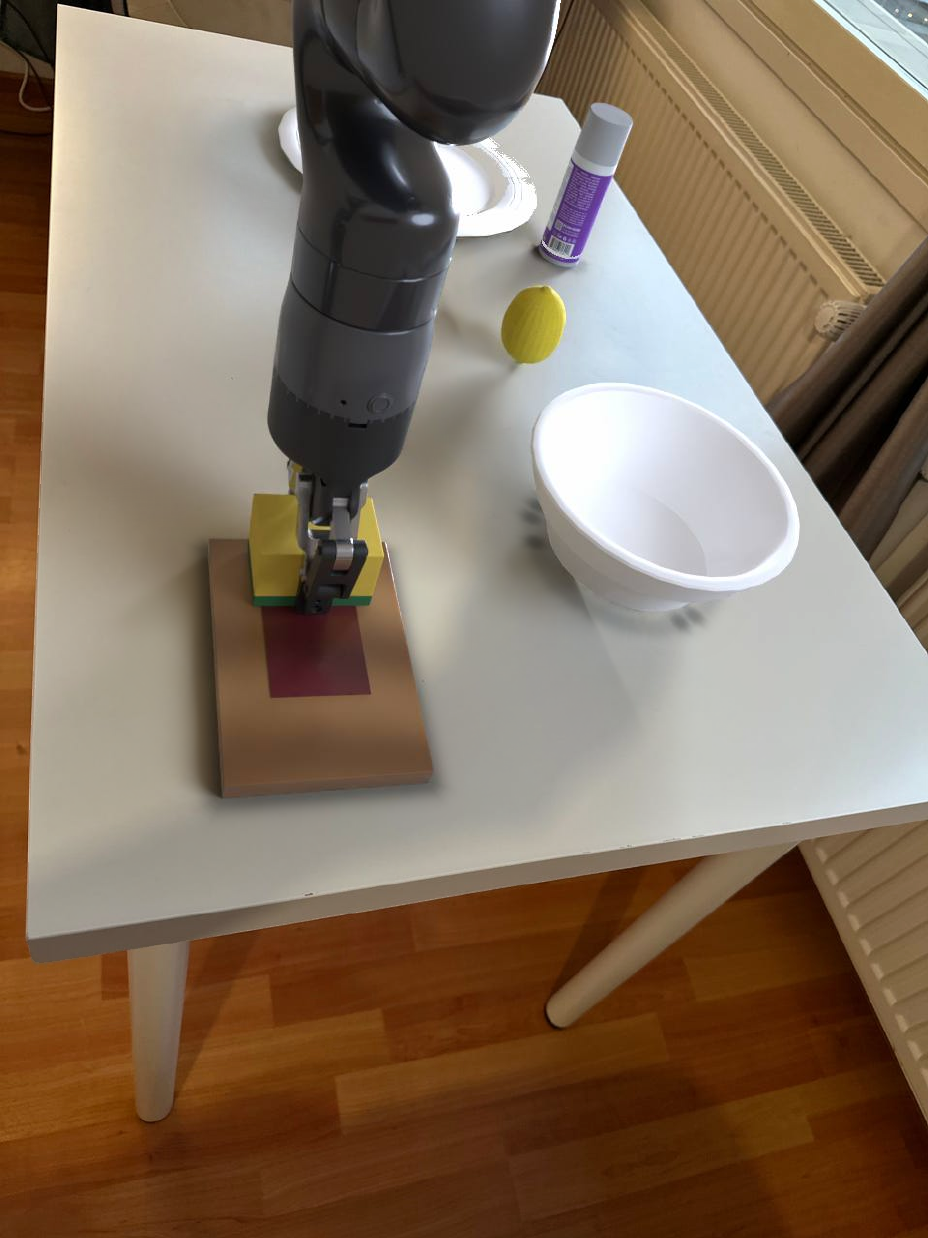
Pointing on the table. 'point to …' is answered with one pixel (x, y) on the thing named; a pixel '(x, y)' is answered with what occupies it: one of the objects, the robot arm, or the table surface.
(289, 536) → the sponge
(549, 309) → the lemon
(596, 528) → the bowl
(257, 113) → the table surface
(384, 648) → the board
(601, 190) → the container
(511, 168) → the plate
